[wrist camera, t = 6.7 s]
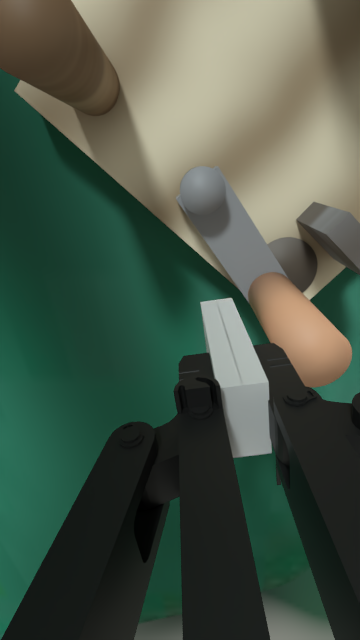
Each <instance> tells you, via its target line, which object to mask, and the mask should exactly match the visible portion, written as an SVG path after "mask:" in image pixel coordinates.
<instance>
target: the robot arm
mask: <svg viewBox="0 0 360 640" xmlns="http://www.w3.org/2000/svg"><path fill="white" fill-rule="evenodd" d="M200 303H201V311H202V318H203V326H204V334H205V341H206V349H207V353H203V354H196V355H188V356H184V357H183V358H182V360H181V361H180V363H179V382H178V384H177V385H176V386H175V388H174V396H175V402H176V407H177V412H178V414H177V415H176V416H175V417H174V419H172V420H171V421H170V422H168V423H166V424H164V425H162V426H160V427H157V428H154V429H153V428H152V426H150V425H149V424H147V423H144V422H130V423H127V424H125V425H122V426H120V427H119V428H118V429H116V430H115V431H114V432H113V433H112V434H111V436H110V437H109V439H108V441H107V442H106V444H105V446H104V448H103V450H102V452H101V454H100V456H99V457H98V459H97V461H96V463H95V465H94V467H93V469H92V471H91V472H90V474H89V476H88V478H87V480H86V482H85V484H84V486H83V487H82V489H81V491H80V493H79V495H78V497H77V499H76V500H75V502H74V504H73V506H72V508H71V510H70V512H69V514H68V515H67V517H66V519H65V521H64V523H63V525H62V527H61V529H60V530H59V532H58V534H57V536H56V538H55V540H54V542H53V544H52V545H51V547H50V549H49V551H48V553H47V555H46V557H45V558H44V560H43V562H42V564H41V566H40V568H39V570H38V572H37V573H36V575H35V577H34V579H33V581H32V583H31V585H30V587H29V588H28V590H27V592H26V594H25V596H24V598H23V600H22V602H21V603H20V605H19V607H18V609H17V611H16V613H15V615H14V616H13V618H12V620H11V622H10V624H9V626H8V628H7V630H6V631H5V633H4V635H3V637H2V639H1V640H134V637H135V633H136V629H137V625H138V622H139V618H140V614H141V610H142V607H143V603H144V599H145V595H146V592H147V588H148V584H149V580H150V576H151V573H152V569H153V565H154V561H155V558H156V554H157V550H158V546H159V543H160V539H161V535H162V531H163V528H164V524H165V520H166V516H167V512H168V509H169V504H170V500H172V499H175V498H177V497H179V496H180V529H181V573H182V617H183V640H270V636H269V631H268V627H267V621H266V617H265V612H264V607H263V602H262V597H261V592H260V587H259V582H258V578H257V573H256V568H255V563H254V558H253V553H252V548H251V543H250V539H249V534H248V529H247V524H246V519H245V514H244V509H243V504H242V499H241V495H240V490H239V485H238V480H237V475H236V470H235V465H234V460H233V458H236V457H244V456H253V455H261V454H269V453H272V446H271V442H272V445H273V448H274V451H275V453H276V477H277V485H281V482H282V485H283V488H284V491H285V494H286V497H287V500H288V503H289V506H290V508H291V511H292V514H293V517H294V520H295V523H296V526H297V529H298V532H299V535H300V538H301V541H302V544H303V547H304V550H305V553H306V556H307V558H308V561H309V564H310V567H311V570H312V573H313V576H314V579H315V582H316V585H317V588H318V591H319V594H320V597H321V600H322V603H323V606H324V608H325V611H326V614H327V617H328V620H329V623H330V626H331V629H332V632H333V635H334V638H335V640H360V393H358V394H356V395H355V396H354V398H353V400H352V404H351V403H339V402H331V401H326V400H323V399H322V398H321V396H320V395H319V394H318V393H317V392H316V391H315V390H313V389H311V388H309V387H306V386H305V385H304V383H303V382H302V380H301V378H300V377H299V375H298V373H297V372H296V370H295V368H294V367H293V365H292V364H291V362H290V360H289V358H288V356H287V355H286V353H285V351H284V350H283V349H282V348H281V347H279V346H278V345H276V344H275V343H269V344H262V345H255V346H253V345H252V343H251V340H250V338H249V336H248V334H247V331H246V329H245V327H244V324H243V322H242V320H241V318H240V315H239V313H238V311H237V309H236V306H235V304H234V302H233V299H232V298H226V299H219V300H212V301H205V302H200Z"/></svg>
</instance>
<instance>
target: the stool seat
mask: <svg viewBox="0 0 360 640" xmlns="http://www.w3.org/2000/svg"><path fill="white" fill-rule="evenodd" d="M0 68H1V69H2V70H4V71H5V72H7V73H9V74H11V75H13V76H14V77H16V78H18V79H20V82H19V84H18V85H17V87H16V89H15V90H14V91H15V92H16V93H18V94H19V95H20V96H21V97H22V98H23V99H24V100H25V101H27V102H28V103H29V104H30V105H31V106H32V107H33V108H34V109H36V110H37V111H38V112H39V113H40V114H41V115H42V116H44V117H45V118H46V119H47V120H48V121H49V122H50V123H51V124H53V125H54V126H55V127H56V128H57V129H58V130H59V131H60V132H62V133H63V134H64V135H65V136H66V137H67V138H68V139H69V140H71V141H72V142H73V143H74V144H75V145H76V146H77V147H79V148H80V149H81V150H82V151H83V152H84V153H85V154H86V155H88V156H89V157H90V158H91V159H92V160H93V161H94V162H95V163H97V164H98V165H99V166H100V167H101V168H102V169H103V170H105V171H106V172H107V173H108V174H109V175H110V176H111V177H112V178H114V179H115V180H116V181H117V182H118V183H119V184H120V185H121V186H123V187H124V188H125V189H126V190H127V191H128V192H129V193H131V194H132V195H133V196H134V197H135V198H136V199H137V200H138V201H140V202H141V203H142V204H143V205H144V206H145V207H146V208H147V209H149V210H150V211H151V212H152V213H153V214H154V215H155V216H157V217H158V218H159V219H160V220H161V221H162V222H163V223H164V224H166V225H167V226H168V227H169V228H170V229H171V230H172V231H173V232H175V233H176V234H177V235H178V236H179V237H180V238H181V239H182V240H184V241H185V242H186V243H187V244H188V245H189V246H190V247H192V248H193V249H194V250H195V251H196V252H197V253H198V254H199V255H201V256H202V257H203V258H204V259H205V260H206V261H207V262H208V263H210V264H211V265H212V266H213V267H214V268H215V269H216V270H218V271H219V272H220V273H221V274H222V275H223V276H224V277H225V278H227V279H228V280H229V281H230V282H231V283H232V284H233V285H234V286H236V287H237V285H236V284H235V282H234V281H233V280H232V278H231V277H230V275H229V274H228V273H227V271H226V270H225V268H224V267H223V265H222V264H221V263H220V261H219V260H218V258H217V257H216V255H215V254H214V253H213V251H212V250H211V248H210V247H209V245H208V244H207V243H206V241H205V240H204V238H203V237H202V235H201V234H200V233H199V231H198V230H197V228H196V227H195V226H194V224H193V223H192V221H191V220H190V218H189V217H188V216H187V214H186V213H185V211H184V210H183V208H182V207H181V206H180V204H179V203H178V201H177V200H176V197H177V196H178V195H179V194H180V183H181V180H182V178H183V176H184V175H185V174H186V173H187V172H188V171H189V170H190V169H192V168H194V167H198V166H205V167H210V168H214V167H215V166H218V167H219V168H220V170H221V172H222V173H223V175H224V176H225V178H226V180H227V181H228V183H229V184H230V186H231V188H232V189H233V191H234V192H235V194H236V196H237V197H238V199H239V200H240V202H241V204H242V205H243V207H244V208H245V210H246V212H247V213H248V215H249V216H250V218H251V220H252V221H253V223H254V224H255V226H256V228H257V229H258V231H259V232H260V234H261V236H262V237H263V239H264V240H265V242H266V243H267V245H268V247H269V248H270V250H271V251H272V253H273V255H274V256H275V258H276V259H277V261H278V263H279V264H280V266H281V267H282V269H283V271H284V272H285V274H286V275H287V277H288V279H289V280H290V281H291V282H292V283H293V284H294V285H295V286H296V287H297V288H298V289H299V290H300V291H301V292H302V293H303V294H304V295H305V296H306V297H307V298H308V300H310V299H311V298H312V297H314V296H315V295H316V294H317V293H318V292H319V291H320V290H321V289H322V288H323V287H325V286H326V285H327V284H328V283H329V282H330V281H331V280H332V279H333V278H335V277H336V276H337V275H338V274H339V273H340V272H341V271H342V270H343V269H344V268H346V267H347V268H349V269H351V270H352V271H354V272H356V273H357V274H359V275H360V0H0ZM237 288H238V287H237ZM238 289H239V288H238Z"/></svg>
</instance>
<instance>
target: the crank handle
mask: <svg viewBox="0 0 360 640" xmlns="http://www.w3.org/2000/svg"><path fill="white" fill-rule="evenodd" d="M176 200H177V201H178V203H179V204H180V206H181V207H182V208H183V210H184V211H185V213H186V214H187V216H188V217H189V218H190V220H191V221H192V223H193V224H194V226H195V227H196V228H197V230H198V231H199V233H200V234H201V235H202V237H203V238H204V240H205V241H206V243H207V244H208V245H209V247H210V248H211V250H212V251H213V253H214V254H215V255H216V257H217V258H218V260H219V261H220V263H221V264H222V265H223V267H224V268H225V270H226V271H227V273H228V274H229V275H230V277H231V278H232V280H233V281H234V282H235V284H236V285H237V287H238V288H239V290H240V291H241V292H242V294H243V295H244V297H245V298H246V300H247V301H248V302H249V304H250V305H251V307H252V309H253V311H254V313H255V315H256V317H257V318H258V320H259V322H260V324H261V326H262V328H263V330H264V332H265V333H266V335H267V337H268V339H269V341H270V343H275V344H276V345H278V346H279V347H281V348H282V349H283V350H284V351H285V353H286V355H287V356H288V358H289V360H290V362H291V364H292V365H293V367H294V368H295V370H296V372H297V373H298V375H299V377H300V378H301V380H302V382H303V383H304V385H305V386H306V387H320V386H324V385H327V384H329V383H331V382H333V381H335V380H336V379H338V378H339V377H340V376H341V375H342V374H343V373H344V372H345V371H346V370H347V368H348V366H349V364H350V362H351V358H352V348H351V345H350V343H349V341H348V340H347V339H346V338H345V337H344V336H343V335H342V334H341V332H340V331H339V330H338V329H337V328H336V327H335V326H334V325H333V324H332V323H331V322H330V321H329V320H328V319H327V318H326V317H325V316H324V315H323V314H322V313H321V312H320V311H319V310H318V309H317V308H316V307H315V306H314V305H313V304H312V303H311V302H310V301H309V300H308V298H307V297H306V296H305V295H304V294H303V293H302V292H301V291H300V290H299V289H298V288H297V287H296V286H295V285H294V284H293V283H292V282H291V281H290V280H289V279H288V277H287V275H286V274H285V272H284V271H283V269H282V267H281V266H280V264H279V263H278V261H277V259H276V258H275V256H274V255H273V253H272V251H271V250H270V248H269V247H268V245H267V243H266V242H265V240H264V239H263V237H262V236H261V234H260V232H259V231H258V229H257V228H256V226H255V224H254V223H253V221H252V220H251V218H250V216H249V215H248V213H247V212H246V210H245V208H244V207H243V205H242V204H241V202H240V200H239V199H238V197H237V196H236V194H235V192H234V191H233V189H232V188H231V186H230V184H229V183H228V181H227V180H226V178H225V176H224V175H223V173H222V172H221V170H220V168H219V167H218V166H215V167H214V168H210V167H205V166H198V167H194V168H192V169H190V170H189V171H188V172H187V173H186V174H185V175H184V176H183V178H182V180H181V183H180V194H179V195H178V196H177V197H176Z"/></svg>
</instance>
